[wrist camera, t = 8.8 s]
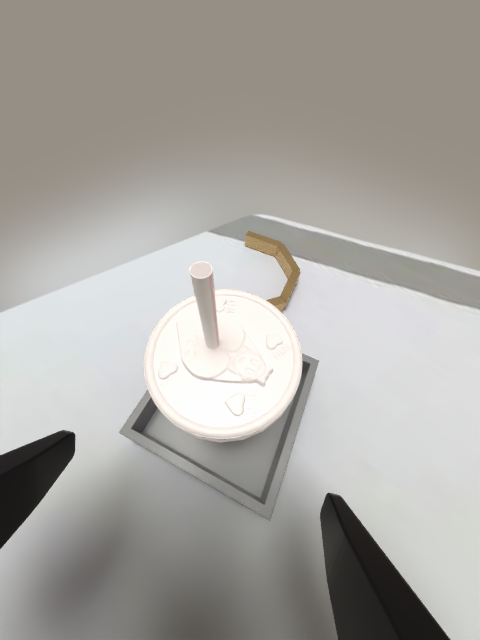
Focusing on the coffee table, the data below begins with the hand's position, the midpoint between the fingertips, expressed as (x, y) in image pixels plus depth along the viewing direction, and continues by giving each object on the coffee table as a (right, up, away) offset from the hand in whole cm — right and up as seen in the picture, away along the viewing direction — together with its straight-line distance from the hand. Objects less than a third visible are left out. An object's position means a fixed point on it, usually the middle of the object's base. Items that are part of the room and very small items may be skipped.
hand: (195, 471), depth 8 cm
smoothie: (+1, -1, +10) cm, 10 cm away
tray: (+1, -1, +10) cm, 10 cm away
